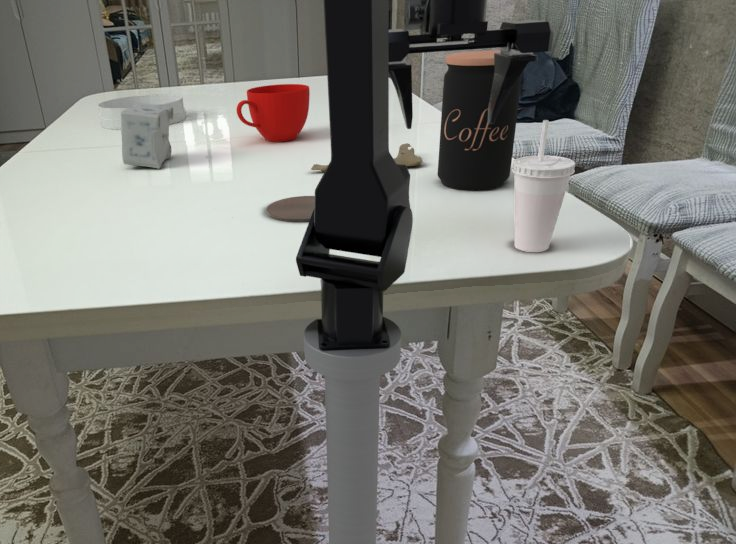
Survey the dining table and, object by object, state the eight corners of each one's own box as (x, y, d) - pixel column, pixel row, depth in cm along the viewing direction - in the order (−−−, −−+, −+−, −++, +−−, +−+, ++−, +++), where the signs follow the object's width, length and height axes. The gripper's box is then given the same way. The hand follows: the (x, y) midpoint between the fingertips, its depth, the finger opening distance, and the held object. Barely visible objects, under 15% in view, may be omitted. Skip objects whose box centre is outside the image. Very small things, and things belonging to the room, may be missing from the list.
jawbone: (438, 166, 109) (439, 154, 108) (334, 188, 102) (334, 175, 101) (407, 152, 116) (408, 141, 115) (308, 172, 109) (308, 160, 108)
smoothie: (490, 243, 75) (504, 119, 68) (532, 233, 77) (549, 112, 70) (530, 260, 70) (550, 128, 63) (574, 249, 72) (597, 120, 65)
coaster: (345, 219, 86) (345, 216, 86) (265, 223, 87) (264, 221, 87) (340, 196, 96) (340, 194, 96) (268, 200, 96) (267, 197, 96)
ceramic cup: (223, 143, 135) (218, 93, 130) (285, 130, 143) (283, 82, 139) (259, 152, 126) (255, 98, 121) (323, 137, 134) (322, 86, 129)
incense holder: (165, 169, 118) (157, 110, 113) (123, 170, 119) (112, 112, 114) (180, 156, 126) (172, 101, 121) (140, 157, 128) (131, 103, 123)
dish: (91, 121, 171) (87, 102, 168) (169, 110, 179) (166, 91, 177) (114, 133, 153) (110, 111, 151) (198, 120, 162) (196, 99, 159)
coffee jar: (428, 188, 96) (436, 59, 87) (446, 171, 104) (455, 50, 95) (501, 194, 92) (517, 57, 83) (515, 175, 100) (530, 49, 91)
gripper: (526, -39, 71) (509, 109, 79) (359, -27, 72) (358, 118, 79) (566, -43, 61) (542, 125, 69) (372, -29, 62) (370, 136, 70)
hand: (449, 125), depth 72 cm, fingers open, 9 cm apart
